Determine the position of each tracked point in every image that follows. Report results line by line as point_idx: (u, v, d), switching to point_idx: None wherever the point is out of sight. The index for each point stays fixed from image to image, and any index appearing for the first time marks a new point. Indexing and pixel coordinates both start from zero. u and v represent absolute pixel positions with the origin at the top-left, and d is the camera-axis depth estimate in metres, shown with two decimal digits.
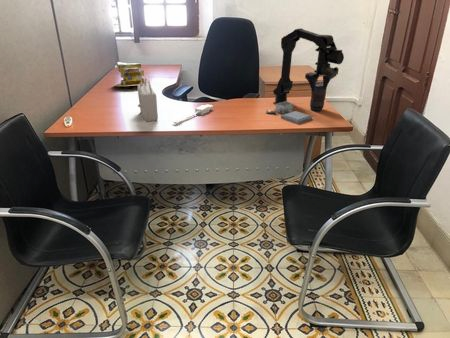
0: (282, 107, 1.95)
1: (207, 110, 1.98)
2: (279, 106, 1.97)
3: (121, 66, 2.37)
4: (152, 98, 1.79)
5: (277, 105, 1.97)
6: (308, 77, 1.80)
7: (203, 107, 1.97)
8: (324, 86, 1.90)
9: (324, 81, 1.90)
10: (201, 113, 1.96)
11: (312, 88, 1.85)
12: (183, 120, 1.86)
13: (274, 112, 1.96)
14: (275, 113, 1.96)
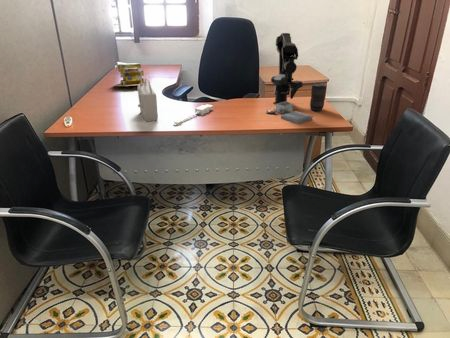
0: (282, 107, 1.95)
1: (207, 110, 1.98)
2: (279, 106, 1.97)
3: (121, 66, 2.37)
4: (152, 98, 1.79)
5: (277, 105, 1.97)
6: None
7: (203, 107, 1.97)
8: None
9: None
10: (201, 113, 1.95)
11: None
12: (183, 120, 1.85)
13: (274, 112, 1.96)
14: (275, 113, 1.96)
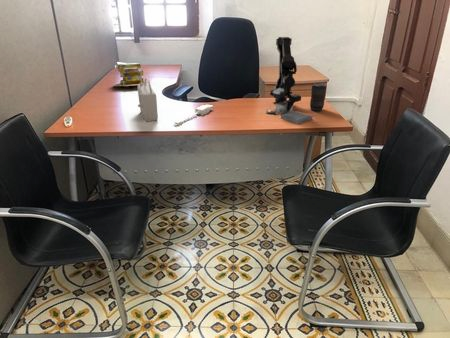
0: (282, 107, 1.95)
1: (207, 110, 1.98)
2: (279, 106, 1.97)
3: (121, 66, 2.37)
4: (152, 98, 1.79)
5: (277, 105, 1.97)
6: None
7: (203, 107, 1.97)
8: None
9: None
10: (201, 113, 1.95)
11: None
12: (184, 120, 1.85)
13: (274, 112, 1.96)
14: (275, 113, 1.96)
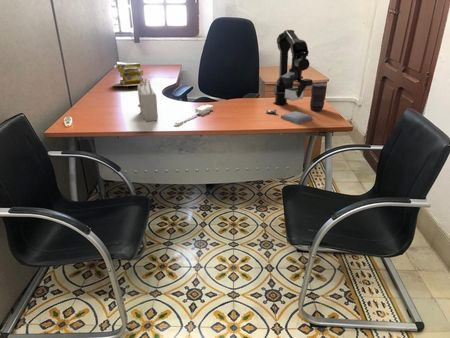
0: (292, 92, 1.83)
1: (207, 110, 1.98)
2: (289, 91, 1.85)
3: (120, 66, 2.37)
4: (152, 98, 1.79)
5: (287, 91, 1.86)
6: None
7: (203, 107, 1.97)
8: None
9: None
10: (201, 113, 1.95)
11: None
12: None
13: (274, 112, 1.96)
14: (275, 113, 1.96)
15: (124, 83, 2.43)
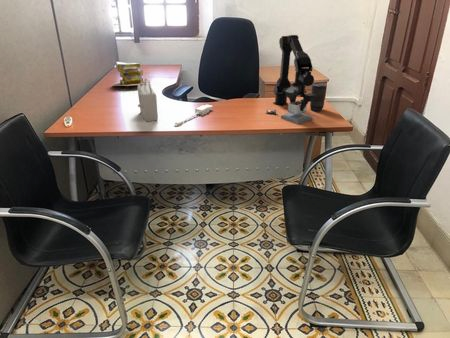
0: (295, 107, 1.83)
1: (207, 110, 1.98)
2: (292, 106, 1.85)
3: (120, 66, 2.38)
4: (152, 98, 1.79)
5: (290, 105, 1.86)
6: None
7: (203, 107, 1.97)
8: None
9: None
10: (201, 113, 1.95)
11: None
12: None
13: (274, 112, 1.96)
14: (275, 113, 1.96)
15: (124, 83, 2.43)
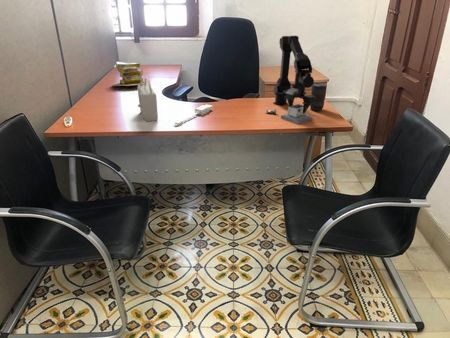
0: (295, 110, 1.84)
1: (207, 110, 1.98)
2: (292, 109, 1.86)
3: (120, 66, 2.38)
4: (152, 98, 1.79)
5: (290, 108, 1.87)
6: None
7: (203, 107, 1.97)
8: None
9: None
10: (201, 113, 1.95)
11: None
12: None
13: (274, 112, 1.96)
14: (275, 113, 1.96)
15: (124, 83, 2.43)
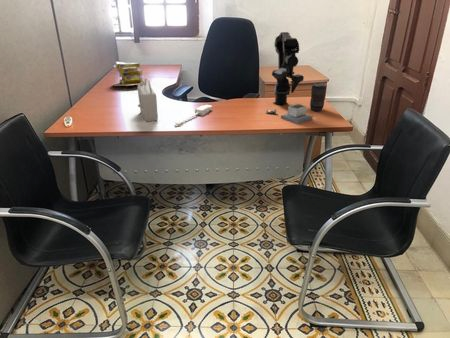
0: (295, 110, 1.84)
1: (207, 110, 1.98)
2: (292, 109, 1.86)
3: (119, 65, 2.38)
4: (152, 98, 1.79)
5: (290, 108, 1.87)
6: None
7: (203, 107, 1.97)
8: None
9: None
10: (201, 114, 1.95)
11: None
12: (184, 121, 1.84)
13: (274, 112, 1.96)
14: (275, 113, 1.96)
15: (123, 83, 2.43)
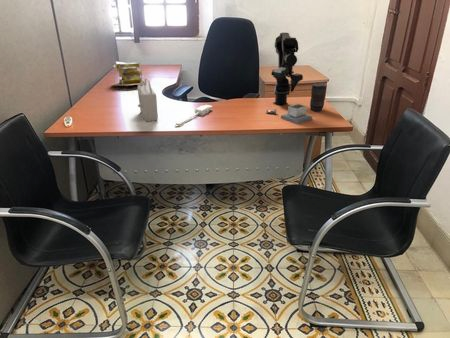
0: (295, 110, 1.84)
1: (207, 111, 1.98)
2: (292, 109, 1.86)
3: (119, 65, 2.38)
4: (152, 98, 1.79)
5: (290, 108, 1.87)
6: None
7: (203, 108, 1.96)
8: None
9: None
10: (201, 114, 1.94)
11: None
12: (184, 121, 1.84)
13: (274, 112, 1.96)
14: (275, 113, 1.96)
15: (123, 83, 2.44)
